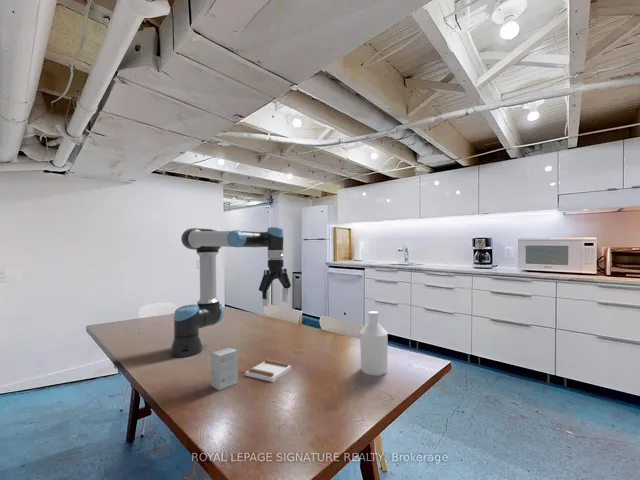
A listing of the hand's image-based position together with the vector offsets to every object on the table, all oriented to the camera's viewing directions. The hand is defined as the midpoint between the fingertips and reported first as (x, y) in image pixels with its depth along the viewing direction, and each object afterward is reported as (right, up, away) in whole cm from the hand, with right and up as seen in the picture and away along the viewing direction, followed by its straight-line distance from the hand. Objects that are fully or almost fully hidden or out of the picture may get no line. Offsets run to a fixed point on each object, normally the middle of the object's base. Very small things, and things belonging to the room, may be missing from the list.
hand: (275, 303), depth 142 cm
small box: (-16, -27, -25) cm, 40 cm away
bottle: (+45, -26, -13) cm, 54 cm away
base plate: (-1, -27, -14) cm, 30 cm away
